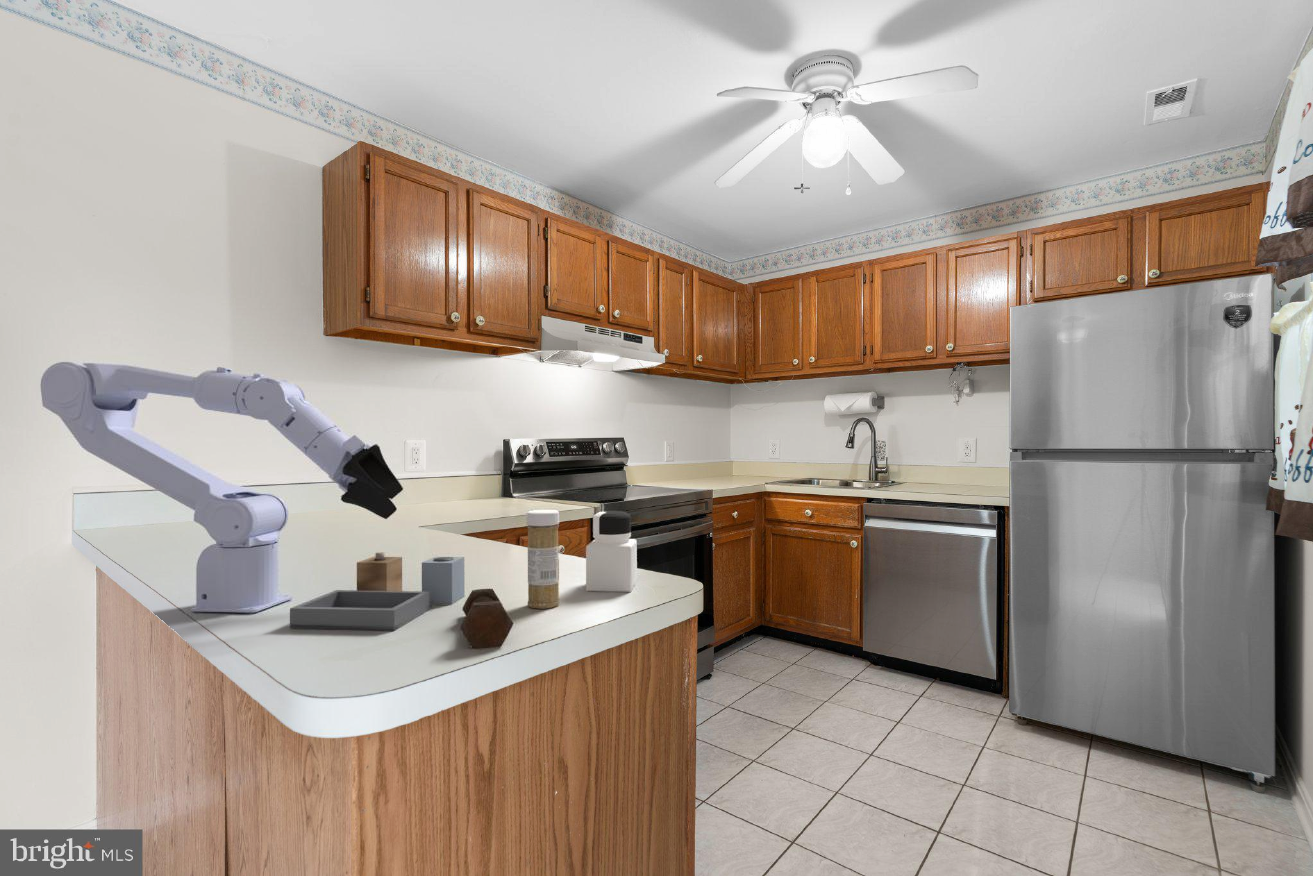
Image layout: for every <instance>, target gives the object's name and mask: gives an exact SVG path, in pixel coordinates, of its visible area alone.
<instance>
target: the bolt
mask: <svg viewBox="0 0 1313 876" xmlns="http://www.w3.org/2000/svg"><path fill="white" fill-rule="evenodd" d="M503 605H504V604H502V601H501V600H500V598H499V597H498V595H497V593H496V592H495V590H494V589H493V588H479V589H472V590H471V591H470V593H469V595H468V597H467V598H466V600H465V602H464V604H463V606H462V612H463V613H464V615H465V617H464V618H463V621H462V623H461V624H460V627H459V629H460V631H461V632H462V634H463V636H464V638H465V639H466V641H467V642H468V644H469V646H470V647H471V648H472V649H473V650H483V649H492V648H498V647H502V646H503V644H504V643H505V641H506V640H507V637H508V636H509V634H510V632H511V631H512V628H513V625H514V622H513V619H512V618H511V617H510V615H509V614H508V612H507V610H506V608H505V607H504V606H503Z"/></svg>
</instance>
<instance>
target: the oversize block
mask: <svg viewBox="0 0 1313 876" xmlns="http://www.w3.org/2000/svg"><path fill="white" fill-rule="evenodd" d="M421 591H426V592H430V605H444V604H449V605H450V606H452V605H454V604H455V603H458V601H460V600H462V599H463V598H465V556H434V557H432V558H429V559H426V560H425V561H422V562H421ZM451 604H452V605H451Z"/></svg>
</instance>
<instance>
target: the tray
mask: <svg viewBox="0 0 1313 876" xmlns="http://www.w3.org/2000/svg"><path fill="white" fill-rule="evenodd" d="M430 607H431V604H430V592H426V591H422V590H420V591H419V590H418V591H417V590H416V591H415V590H413V591H412V590H411V591H410V590H402V591H362V590H357V589H356V590H353V589H345V590H343V589H335V590H333V591H330V592H327V593H326V594H325V593H324V594H323V595H320V596H318V597H316V598H313V599H310V600H308V601H305V602H302V603H300V604H297V605H296V606H293V607H289V629H296V630H299V629H300V630H301V629H302V630H303V629H304V630H305V629H306V630H343V631H344V630H347V631H350V630H351V631H391V632H392V631H397V630H398V629H400V628H402V627H403V626H404V625H406V624H408V623H410V622H411V621H413V620H415V619H416V618H418V617H419V616H421V615H423V614H425V613H427V612H428V611H430Z"/></svg>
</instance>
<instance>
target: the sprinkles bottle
mask: <svg viewBox="0 0 1313 876" xmlns="http://www.w3.org/2000/svg"><path fill="white" fill-rule="evenodd" d="M559 524H560V512H559V510H556V509H534V510H529V511H527V512H526V525H527V583H528V585H527V587H528V589H527V591H528V592H527V594H528V596H527V597H528V598H527V599H528V600H527V606H528V607H530V608H532V609H543V610H546V609H552V608H555V607H557V606H558V605H559V604H560V596H559V593H560V592H559V591H560V590H559V589H560V588H559V585H560V559H559V526H560V525H559Z"/></svg>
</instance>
